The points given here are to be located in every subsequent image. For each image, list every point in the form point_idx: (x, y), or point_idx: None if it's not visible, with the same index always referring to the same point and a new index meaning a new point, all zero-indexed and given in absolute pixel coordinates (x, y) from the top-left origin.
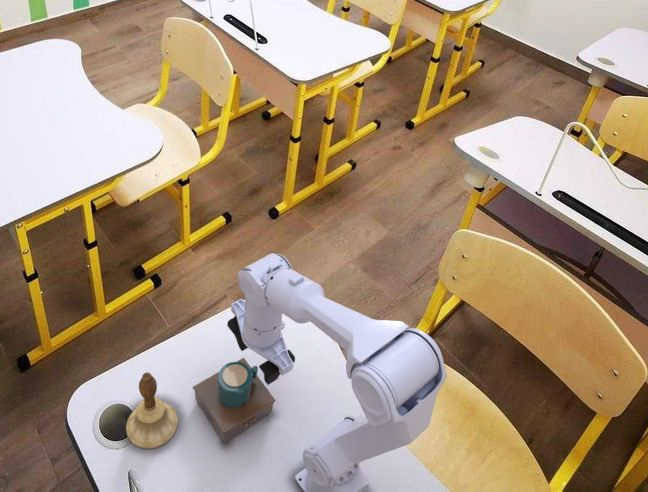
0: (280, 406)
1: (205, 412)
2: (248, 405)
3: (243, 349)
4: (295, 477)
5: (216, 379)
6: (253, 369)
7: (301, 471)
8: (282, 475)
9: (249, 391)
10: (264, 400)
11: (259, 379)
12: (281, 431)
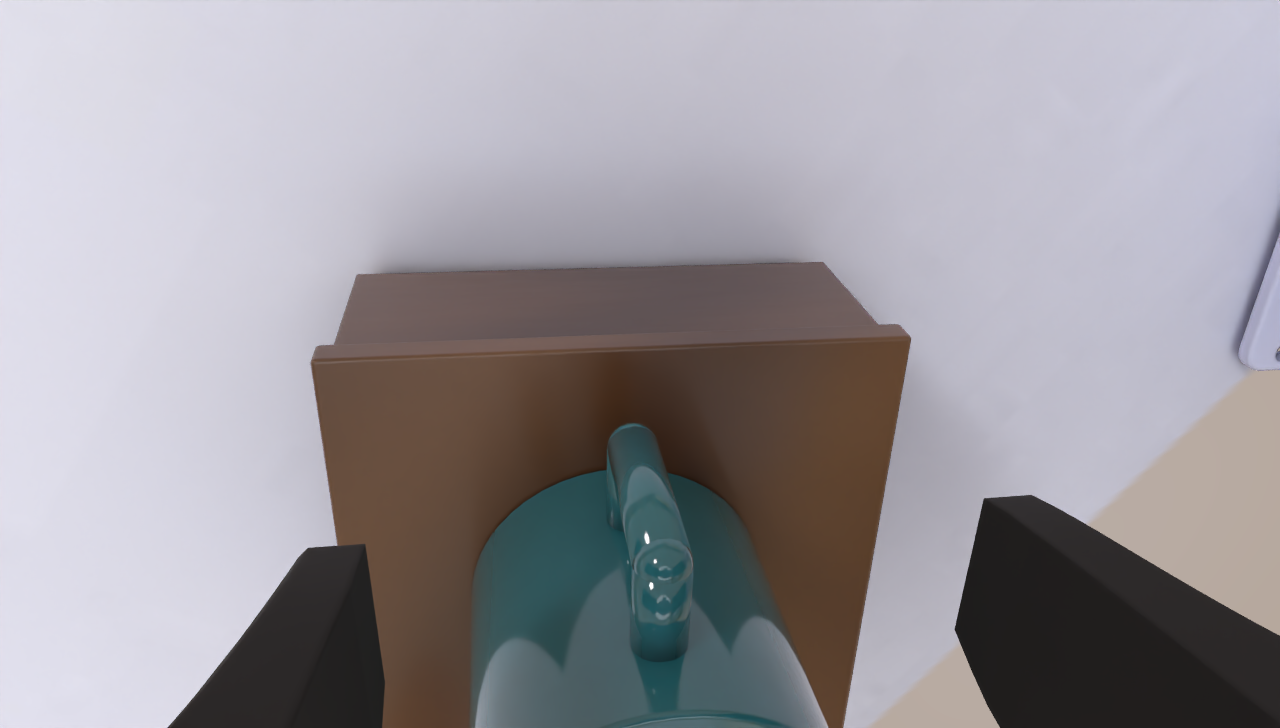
0: (810, 156)
1: None
2: (786, 540)
3: (381, 685)
4: (1255, 369)
5: (411, 650)
6: (678, 609)
7: (1264, 318)
8: (1160, 406)
9: (777, 608)
10: (843, 416)
11: (637, 352)
12: (962, 262)
